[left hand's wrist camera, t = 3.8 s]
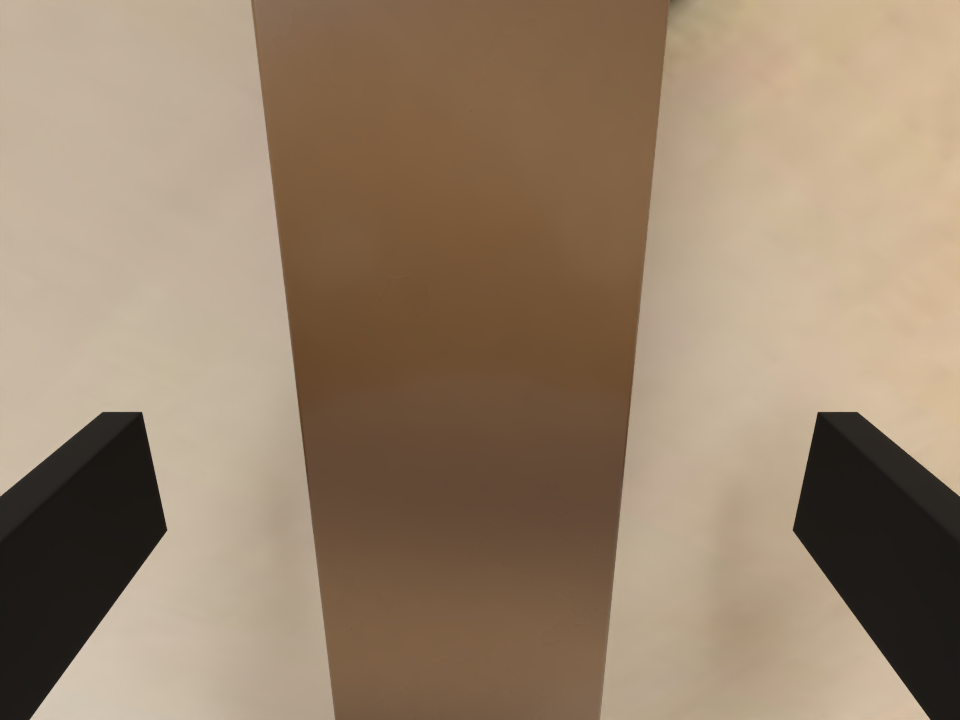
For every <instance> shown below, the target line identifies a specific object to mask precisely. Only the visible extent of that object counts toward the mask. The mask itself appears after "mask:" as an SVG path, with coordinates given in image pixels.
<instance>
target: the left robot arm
mask: <svg viewBox="0 0 960 720" xmlns="http://www.w3.org/2000/svg"><path fill="white" fill-rule="evenodd" d="M166 531H167V527H166V522H165V518H164V513H163V508H162V504H161V499H160V494H159V489H158V485H157V480H156V475H155V471H154V466H153V461H152V457H151V452H150V447H149V442H148V438H147V433H146V428H145V424H144V419H143V414H142V412H102V413H101V414H100V415H99V416H97V417H96V418H95V419H94V420H92V421H91V422H90V423H89V424H88V425H86V426H85V427H84V428H83V429H82V430H80V431H79V432H78V433H77V434H76V435H74V436H73V437H72V438H71V439H69V440H68V441H67V442H66V443H65V444H63V445H62V446H61V447H60V448H59V449H57V450H56V451H55V452H54V453H53V454H51V455H50V456H49V457H48V458H46V459H45V460H44V461H43V462H42V463H40V464H39V465H38V466H37V467H36V468H34V469H33V470H32V471H31V472H30V473H28V474H27V475H26V476H25V477H23V478H22V479H21V480H20V481H19V482H17V483H16V484H15V485H14V486H13V487H11V488H10V489H9V490H8V491H7V492H5V493H4V494H3V495H2V496H0V720H30V718H31V717H32V716H33V714H34V713H35V711H36V710H37V709H38V707H39V706H40V705H41V703H42V702H43V700H44V699H45V698H46V696H47V695H48V694H49V692H50V691H51V689H52V688H53V687H54V685H55V684H56V683H57V681H58V680H59V678H60V677H61V676H62V674H63V673H64V672H65V670H66V669H67V667H68V666H69V665H70V663H71V662H72V661H73V659H74V658H75V656H76V655H77V654H78V652H79V651H80V650H81V648H82V647H83V645H84V644H85V643H86V641H87V640H88V639H89V637H90V636H91V634H92V633H93V632H94V630H95V629H96V628H97V626H98V625H99V623H100V622H101V621H102V619H103V618H104V617H105V615H106V614H107V612H108V611H109V610H110V608H111V607H112V606H113V604H114V603H115V601H116V600H117V599H118V597H119V596H120V595H121V593H122V592H123V590H124V589H125V588H126V586H127V585H128V584H129V582H130V581H131V579H132V578H133V577H134V575H135V574H136V573H137V571H138V570H139V568H140V567H141V566H142V564H143V563H144V562H145V560H146V559H147V557H148V556H149V555H150V553H151V552H152V551H153V549H154V548H155V546H156V545H157V544H158V542H159V541H160V540H161V538H162V537H163V535H164V534H165V533H166ZM793 531H794V533H795V534H796V535H797V537H798V538H799V540H800V541H801V542H802V544H803V545H804V546H805V548H806V549H807V551H808V552H809V553H810V555H811V556H812V557H813V559H814V560H815V562H816V563H817V564H818V566H819V567H820V568H821V570H822V571H823V573H824V574H825V575H826V577H827V578H828V579H829V581H830V582H831V584H832V585H833V586H834V588H835V589H836V590H837V592H838V593H839V595H840V596H841V597H842V599H843V600H844V601H845V603H846V604H847V606H848V607H849V608H850V610H851V611H852V612H853V614H854V615H855V617H856V618H857V619H858V621H859V622H860V623H861V625H862V626H863V628H864V629H865V630H866V632H867V633H868V634H869V636H870V637H871V639H872V640H873V641H874V643H875V644H876V645H877V647H878V648H879V650H880V651H881V652H882V654H883V655H884V656H885V658H886V659H887V661H888V662H889V663H890V665H891V666H892V667H893V669H894V670H895V672H896V673H897V674H898V676H899V677H900V678H901V680H902V681H903V683H904V684H905V685H906V687H907V688H908V689H909V691H910V692H911V694H912V695H913V696H914V698H915V699H916V700H917V702H918V703H919V705H920V706H921V707H922V709H923V710H924V711H925V713H926V714H927V716H928V717H929V718H930V720H960V496H958V495H957V494H956V493H955V492H953V491H952V490H951V489H950V488H949V487H947V486H946V485H945V484H944V483H943V482H941V481H940V480H939V479H938V478H937V477H935V476H934V475H933V474H932V473H930V472H929V471H928V470H927V469H926V468H924V467H923V466H922V465H921V464H920V463H918V462H917V461H916V460H915V459H914V458H912V457H911V456H910V455H909V454H907V453H906V452H905V451H904V450H903V449H901V448H900V447H899V446H898V445H897V444H895V443H894V442H893V441H892V440H891V439H889V438H888V437H887V436H886V435H884V434H883V433H882V432H881V431H880V430H878V429H877V428H876V427H875V426H874V425H872V424H871V423H870V422H869V421H868V420H866V419H865V418H864V417H863V416H861V415H860V414H859V413H858V412H818V414H817V419H816V424H815V428H814V433H813V438H812V442H811V447H810V452H809V457H808V461H807V466H806V471H805V475H804V480H803V485H802V489H801V494H800V499H799V504H798V508H797V513H796V518H795V522H794V527H793Z"/></svg>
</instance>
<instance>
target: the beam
mask: <svg viewBox="0 0 960 720" xmlns="http://www.w3.org/2000/svg"><path fill="white" fill-rule="evenodd" d="M669 2H670V0H251V4H252V12H253V21H254V29H255V38H256V47H257V55H258V64H259V72H260V81H261V89H262V98H263V106H264V115H265V123H266V132H267V141H268V149H269V158H270V166H271V175H272V183H273V192H274V200H275V209H276V218H277V226H278V235H279V243H280V252H281V260H282V269H283V277H284V286H285V294H286V303H287V312H288V320H289V329H290V337H291V346H292V354H293V363H294V371H295V380H296V389H297V397H298V406H299V414H300V423H301V431H302V440H303V448H304V457H305V465H306V474H307V483H308V491H309V500H310V508H311V517H312V525H313V534H314V542H315V551H316V560H317V568H318V577H319V585H320V594H321V602H322V611H323V619H324V628H325V636H326V645H327V654H328V662H329V671H330V679H331V688H332V696H333V705H334V713H335V720H600V713H601V703H602V693H603V682H604V672H605V662H606V651H607V641H608V631H609V621H610V610H611V600H612V590H613V579H614V569H615V559H616V548H617V538H618V528H619V517H620V507H621V497H622V487H623V476H624V466H625V456H626V445H627V435H628V425H629V414H630V404H631V394H632V383H633V373H634V363H635V353H636V342H637V332H638V322H639V311H640V301H641V291H642V280H643V270H644V260H645V249H646V239H647V229H648V219H649V208H650V198H651V188H652V177H653V167H654V157H655V146H656V136H657V126H658V115H659V105H660V95H661V85H662V74H663V64H664V54H665V43H666V33H667V23H668V12H669Z"/></svg>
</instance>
